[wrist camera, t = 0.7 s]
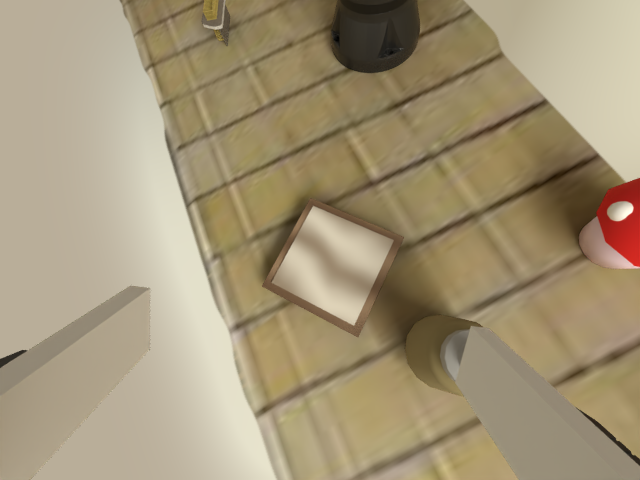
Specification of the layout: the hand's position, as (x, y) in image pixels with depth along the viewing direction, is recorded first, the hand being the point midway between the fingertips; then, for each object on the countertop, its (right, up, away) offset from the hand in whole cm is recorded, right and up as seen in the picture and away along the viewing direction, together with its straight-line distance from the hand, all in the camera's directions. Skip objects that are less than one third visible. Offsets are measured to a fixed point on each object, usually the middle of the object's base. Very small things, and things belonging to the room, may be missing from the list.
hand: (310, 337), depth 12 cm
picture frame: (+2, 0, +30) cm, 30 cm away
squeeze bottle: (+15, -10, +25) cm, 31 cm away
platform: (-19, +45, +47) cm, 68 cm away
